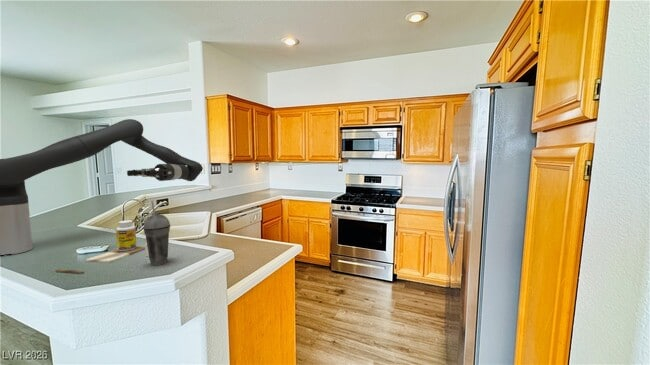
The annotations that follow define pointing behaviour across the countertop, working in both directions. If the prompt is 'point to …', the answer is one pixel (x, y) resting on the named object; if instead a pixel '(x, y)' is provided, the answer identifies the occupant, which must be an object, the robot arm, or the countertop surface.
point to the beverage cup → (157, 237)
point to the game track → (106, 258)
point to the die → (146, 250)
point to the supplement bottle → (126, 236)
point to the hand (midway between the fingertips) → (137, 173)
